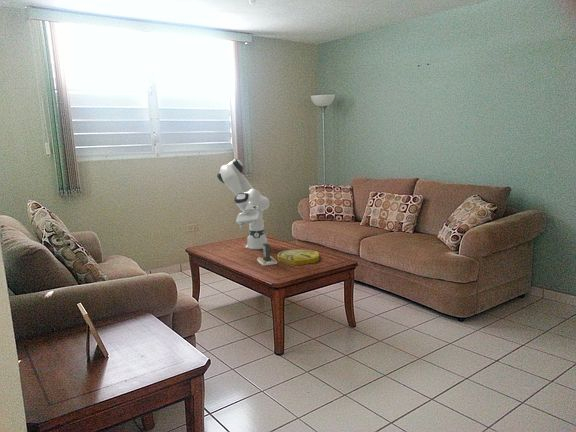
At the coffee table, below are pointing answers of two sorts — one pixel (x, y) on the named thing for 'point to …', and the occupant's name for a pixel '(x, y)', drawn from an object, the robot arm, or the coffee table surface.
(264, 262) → the display stand
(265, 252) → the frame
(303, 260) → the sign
